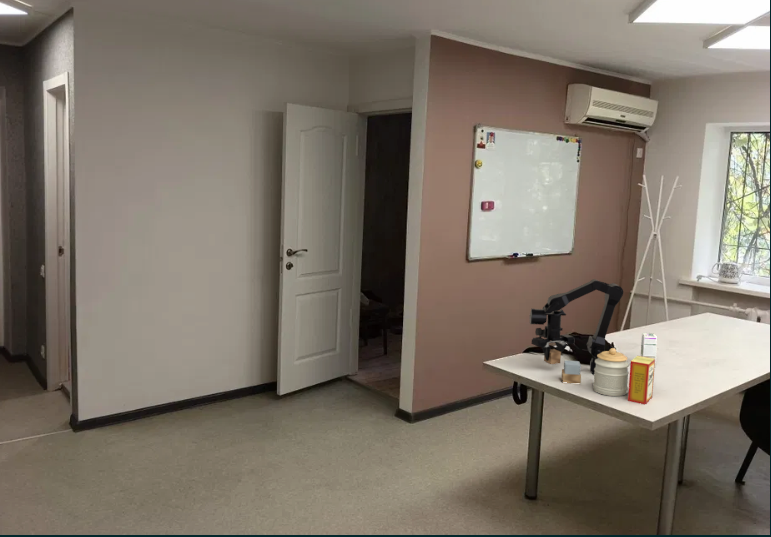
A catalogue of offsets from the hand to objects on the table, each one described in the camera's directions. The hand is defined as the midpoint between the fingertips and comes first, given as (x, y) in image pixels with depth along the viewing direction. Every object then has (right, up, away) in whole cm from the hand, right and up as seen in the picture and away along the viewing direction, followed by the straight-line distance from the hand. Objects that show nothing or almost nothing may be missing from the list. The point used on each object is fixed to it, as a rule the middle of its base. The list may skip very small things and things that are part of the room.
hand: (552, 359), depth 277 cm
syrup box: (+46, -4, +9) cm, 47 cm away
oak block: (+5, -7, -12) cm, 15 cm away
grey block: (+5, -3, -13) cm, 14 cm away
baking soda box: (+25, -11, -33) cm, 43 cm away
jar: (+17, -9, -24) cm, 31 cm away
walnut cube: (0, -1, 0) cm, 1 cm away
